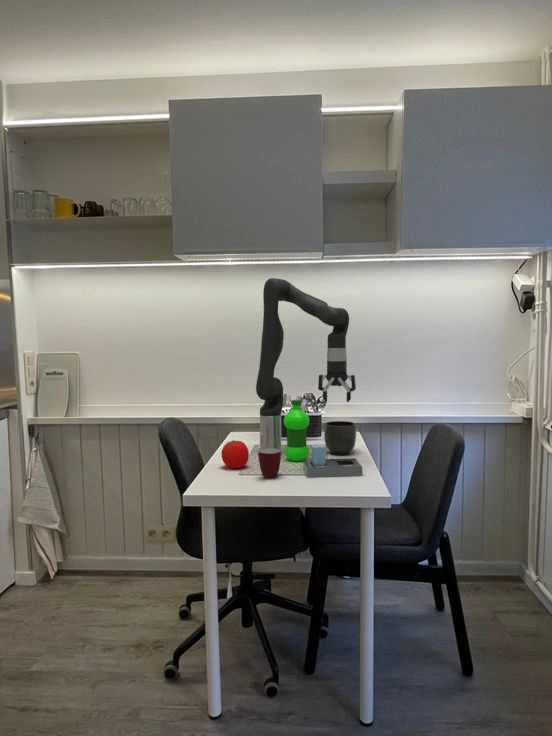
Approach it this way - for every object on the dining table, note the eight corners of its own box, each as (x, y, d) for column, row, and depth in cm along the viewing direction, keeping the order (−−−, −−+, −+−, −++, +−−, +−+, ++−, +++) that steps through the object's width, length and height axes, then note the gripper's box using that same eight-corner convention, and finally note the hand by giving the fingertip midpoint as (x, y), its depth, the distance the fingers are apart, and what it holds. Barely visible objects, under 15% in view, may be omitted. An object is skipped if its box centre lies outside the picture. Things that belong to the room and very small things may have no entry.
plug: (313, 474, 182) (313, 447, 181) (311, 471, 187) (311, 444, 186) (325, 474, 182) (325, 447, 182) (323, 470, 187) (323, 444, 186)
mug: (261, 472, 187) (261, 446, 186) (283, 473, 186) (282, 447, 185) (257, 481, 177) (256, 453, 176) (279, 481, 176) (279, 453, 175)
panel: (307, 479, 178) (307, 467, 178) (303, 470, 190) (303, 459, 190) (362, 477, 179) (362, 466, 179) (355, 468, 191) (355, 457, 191)
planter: (328, 448, 225) (328, 420, 224) (359, 450, 220) (359, 421, 219) (320, 455, 212) (320, 425, 211) (352, 458, 207) (352, 427, 206)
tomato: (250, 463, 200) (249, 437, 200) (247, 471, 190) (246, 443, 189) (224, 463, 201) (223, 437, 200) (219, 471, 191) (219, 443, 190)
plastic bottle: (302, 465, 197) (301, 402, 195) (279, 461, 203) (278, 401, 201) (314, 459, 205) (313, 399, 204) (292, 456, 211) (291, 398, 209)
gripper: (316, 360, 190) (317, 402, 191) (354, 360, 187) (354, 403, 188) (320, 359, 198) (320, 399, 199) (356, 359, 194) (356, 400, 195)
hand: (336, 401), depth 193 cm, fingers open, 8 cm apart
